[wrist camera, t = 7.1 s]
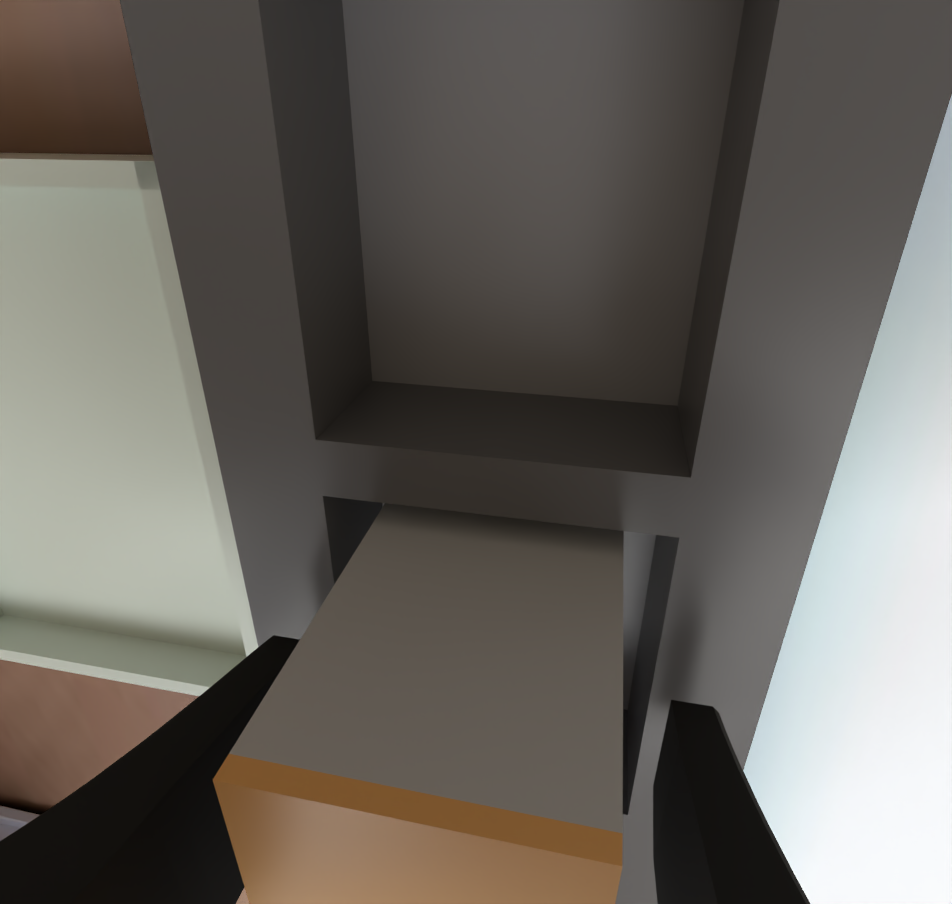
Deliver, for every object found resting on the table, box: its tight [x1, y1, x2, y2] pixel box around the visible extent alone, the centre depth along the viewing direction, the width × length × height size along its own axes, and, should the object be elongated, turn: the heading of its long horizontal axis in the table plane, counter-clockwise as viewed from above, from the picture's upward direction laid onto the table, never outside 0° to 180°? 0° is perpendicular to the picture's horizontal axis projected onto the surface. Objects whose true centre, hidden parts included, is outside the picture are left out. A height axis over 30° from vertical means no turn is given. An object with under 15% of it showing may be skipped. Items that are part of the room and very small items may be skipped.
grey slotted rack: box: [120, 0, 952, 904], centre depth 12 cm, size 9×24×3 cm, turn 0°
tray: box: [0, 153, 258, 696], centre depth 14 cm, size 9×12×2 cm
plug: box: [213, 503, 624, 904], centre depth 10 cm, size 4×5×7 cm
